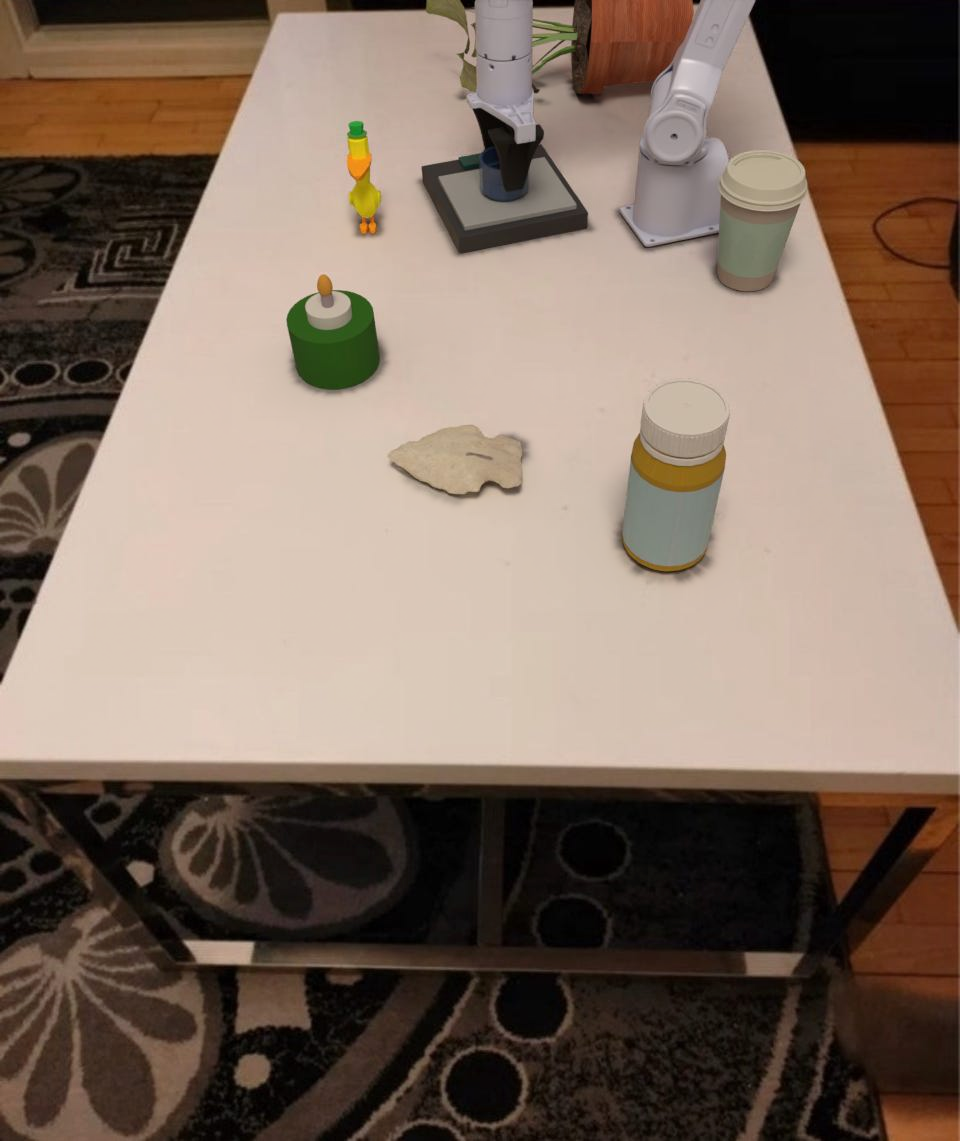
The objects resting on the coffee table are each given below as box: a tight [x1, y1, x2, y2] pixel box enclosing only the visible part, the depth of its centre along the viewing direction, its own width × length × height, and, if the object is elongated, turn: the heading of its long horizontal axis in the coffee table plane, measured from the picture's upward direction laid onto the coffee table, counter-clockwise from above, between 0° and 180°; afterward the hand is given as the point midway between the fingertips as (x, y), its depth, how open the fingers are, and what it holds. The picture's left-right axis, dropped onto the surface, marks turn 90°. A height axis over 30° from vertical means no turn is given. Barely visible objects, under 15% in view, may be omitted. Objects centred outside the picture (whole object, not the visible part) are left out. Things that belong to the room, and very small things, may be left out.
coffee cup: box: [716, 149, 808, 292], centre depth 102 cm, size 9×9×12 cm
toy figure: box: [346, 120, 382, 235], centre depth 110 cm, size 7×4×12 cm, turn 1°
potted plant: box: [425, 0, 695, 95], centre depth 129 cm, size 16×15×35 cm
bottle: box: [621, 377, 731, 572], centre depth 78 cm, size 7×7×15 cm
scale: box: [421, 143, 589, 254], centre depth 116 cm, size 15×16×3 cm
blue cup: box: [479, 146, 530, 202], centre depth 113 cm, size 6×6×4 cm
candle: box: [285, 273, 381, 390], centre depth 96 cm, size 8×8×10 cm
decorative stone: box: [387, 424, 523, 495], centre depth 89 cm, size 8×12×3 cm
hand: (505, 174), depth 113 cm, fingers closed on blue cup, 6 cm apart
